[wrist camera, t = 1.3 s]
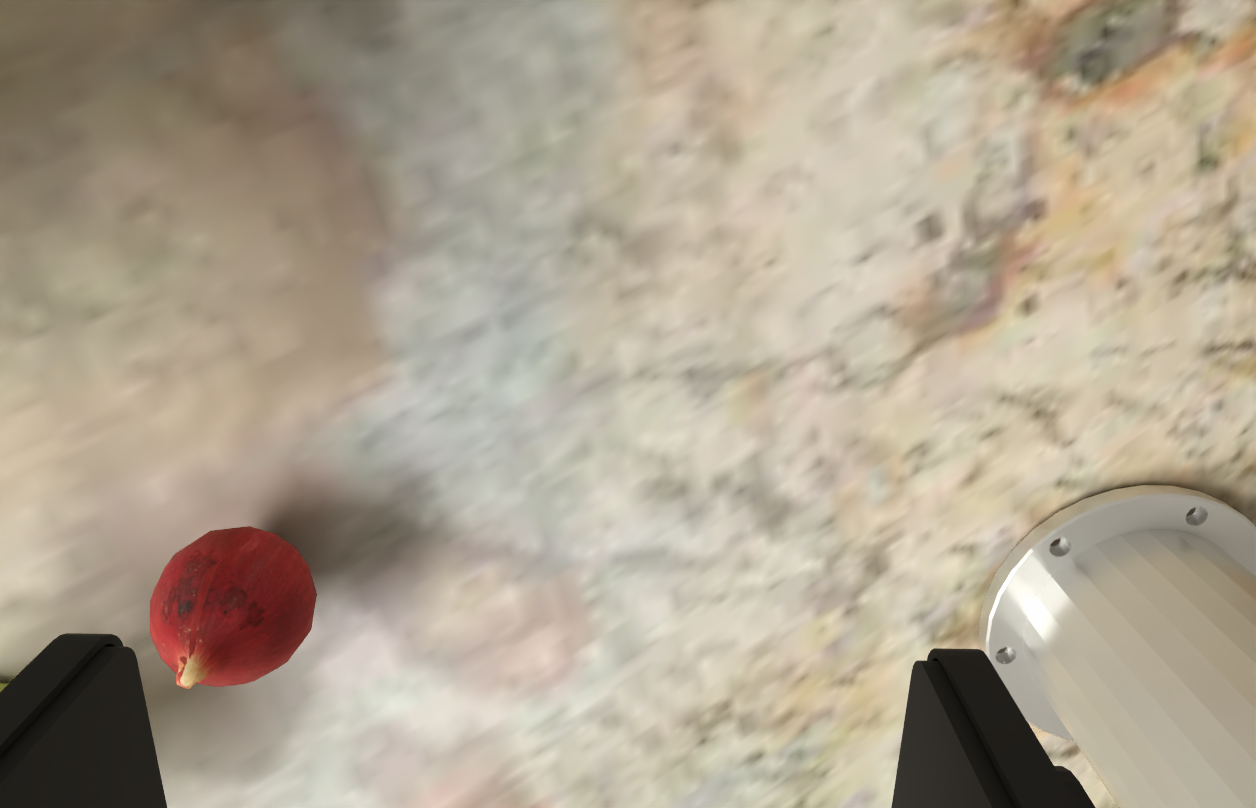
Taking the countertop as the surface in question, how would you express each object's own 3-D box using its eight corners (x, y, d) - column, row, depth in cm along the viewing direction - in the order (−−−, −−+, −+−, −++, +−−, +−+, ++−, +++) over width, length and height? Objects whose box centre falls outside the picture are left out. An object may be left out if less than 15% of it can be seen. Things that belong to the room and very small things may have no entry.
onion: (182, 504, 37) (72, 615, 30) (317, 484, 37) (241, 591, 30) (225, 622, 39) (133, 754, 32) (354, 604, 39) (291, 732, 32)
